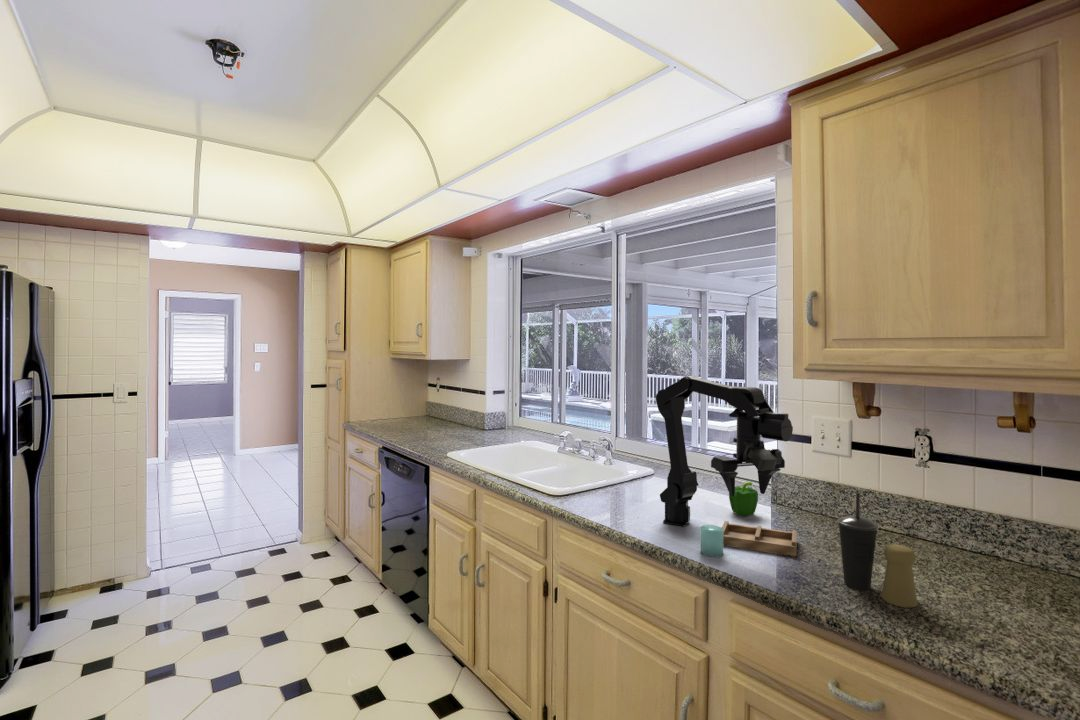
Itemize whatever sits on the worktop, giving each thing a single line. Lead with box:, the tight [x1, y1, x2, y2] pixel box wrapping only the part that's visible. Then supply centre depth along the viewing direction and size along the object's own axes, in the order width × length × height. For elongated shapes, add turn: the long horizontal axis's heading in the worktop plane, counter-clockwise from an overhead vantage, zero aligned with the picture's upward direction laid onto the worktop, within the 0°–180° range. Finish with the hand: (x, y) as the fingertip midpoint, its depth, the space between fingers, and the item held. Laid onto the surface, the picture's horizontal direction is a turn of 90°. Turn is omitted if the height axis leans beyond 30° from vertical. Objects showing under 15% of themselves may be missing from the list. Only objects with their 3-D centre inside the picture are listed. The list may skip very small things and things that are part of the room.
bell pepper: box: [728, 481, 759, 517], centre depth 160 cm, size 8×8×10 cm
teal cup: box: [700, 524, 724, 557], centre depth 130 cm, size 6×6×6 cm
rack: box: [721, 520, 798, 557], centre depth 136 cm, size 18×11×3 cm, turn 63°
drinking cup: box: [837, 492, 880, 591], centre depth 112 cm, size 8×8×20 cm
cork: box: [881, 543, 918, 609], centre depth 105 cm, size 6×6×11 cm
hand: (747, 494), depth 135 cm, fingers open, 9 cm apart
